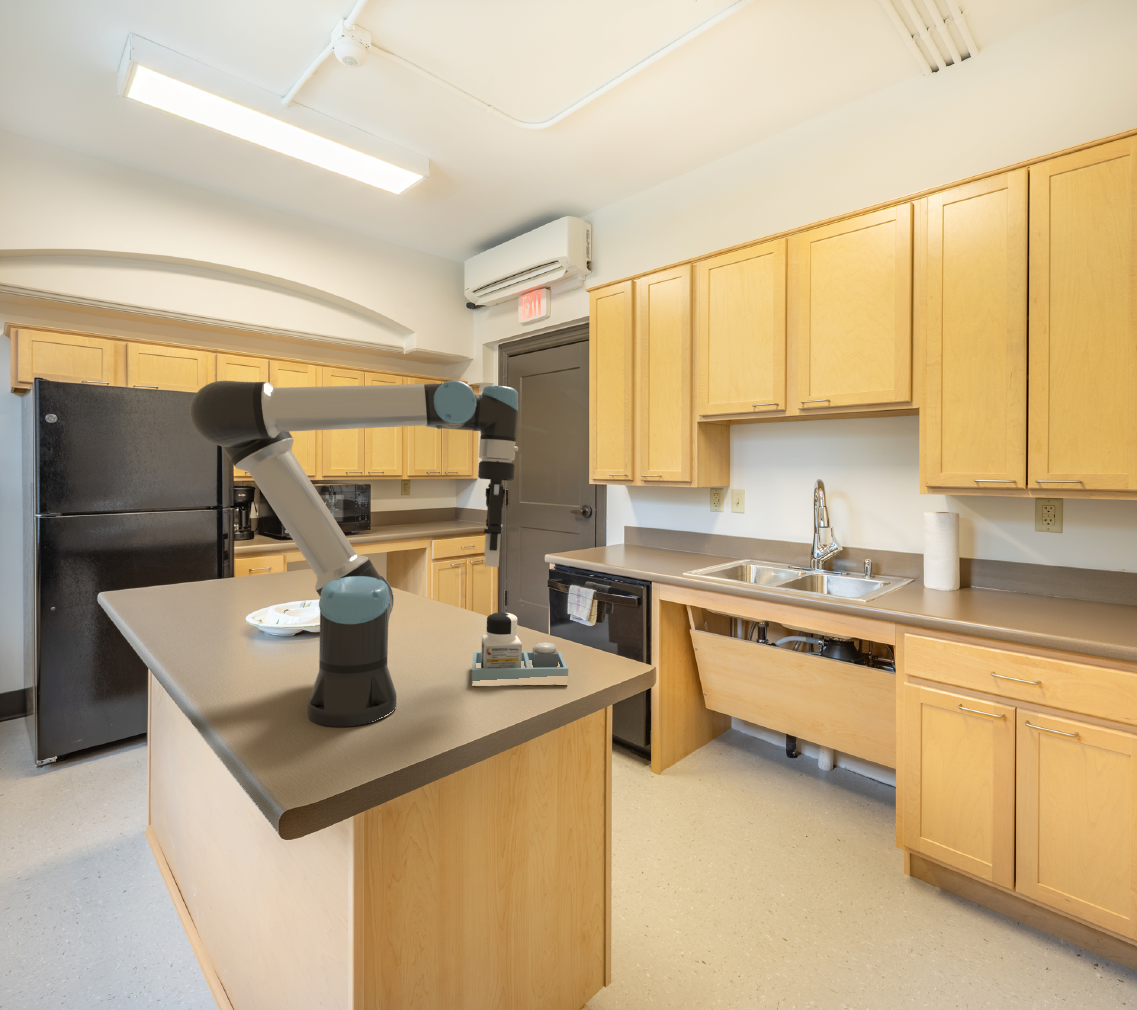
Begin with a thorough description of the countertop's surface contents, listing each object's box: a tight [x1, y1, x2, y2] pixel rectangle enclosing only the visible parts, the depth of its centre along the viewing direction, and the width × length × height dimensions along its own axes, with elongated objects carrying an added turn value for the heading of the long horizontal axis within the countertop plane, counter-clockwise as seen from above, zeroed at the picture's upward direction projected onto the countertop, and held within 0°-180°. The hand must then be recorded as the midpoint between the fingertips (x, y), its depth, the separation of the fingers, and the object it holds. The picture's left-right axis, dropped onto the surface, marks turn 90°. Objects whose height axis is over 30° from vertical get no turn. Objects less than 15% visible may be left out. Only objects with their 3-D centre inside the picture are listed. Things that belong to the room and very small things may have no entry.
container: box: [480, 612, 523, 668], centre depth 128 cm, size 8×8×13 cm
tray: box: [471, 641, 569, 682], centre depth 129 cm, size 20×12×7 cm, turn 98°
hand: (491, 561), depth 126 cm, fingers open, 13 cm apart
